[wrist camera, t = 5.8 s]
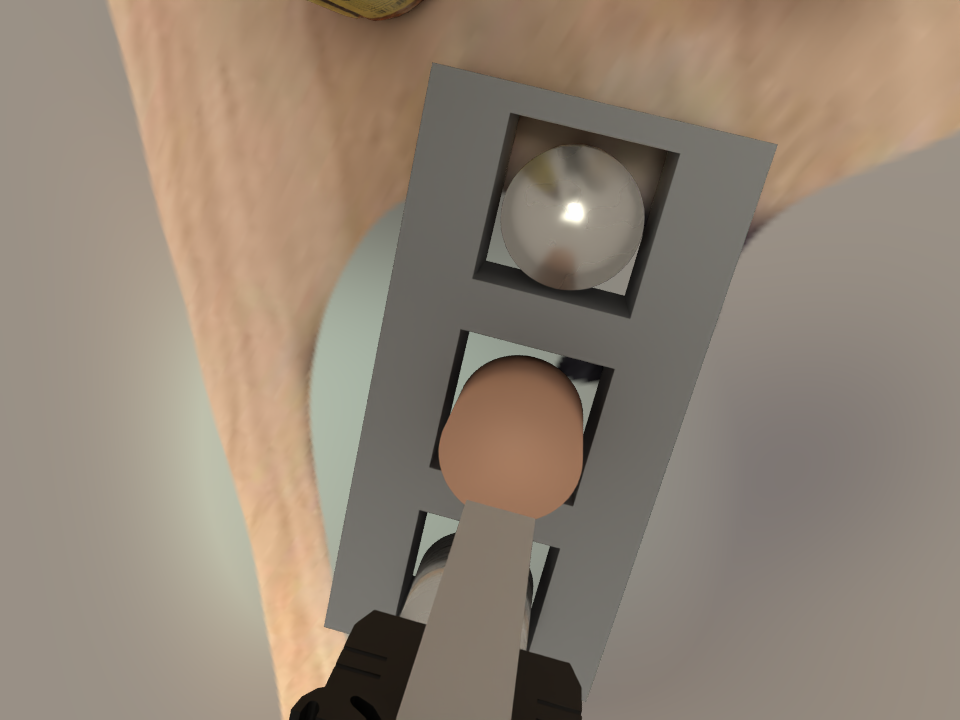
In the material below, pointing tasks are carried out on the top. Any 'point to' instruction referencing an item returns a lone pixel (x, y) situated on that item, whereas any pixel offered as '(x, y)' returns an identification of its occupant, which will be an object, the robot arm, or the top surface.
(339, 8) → the sauce bottle
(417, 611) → the knob
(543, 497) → the middle knob
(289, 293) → the top surface
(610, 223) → the knob
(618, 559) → the knob mount
